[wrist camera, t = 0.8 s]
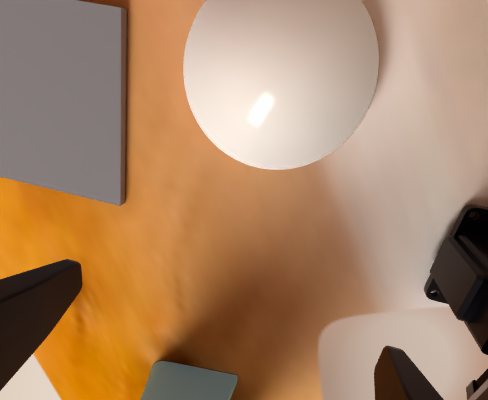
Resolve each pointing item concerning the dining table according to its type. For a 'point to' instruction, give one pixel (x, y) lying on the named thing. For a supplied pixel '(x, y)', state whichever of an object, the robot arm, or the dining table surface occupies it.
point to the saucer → (280, 77)
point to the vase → (187, 383)
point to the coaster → (64, 96)
